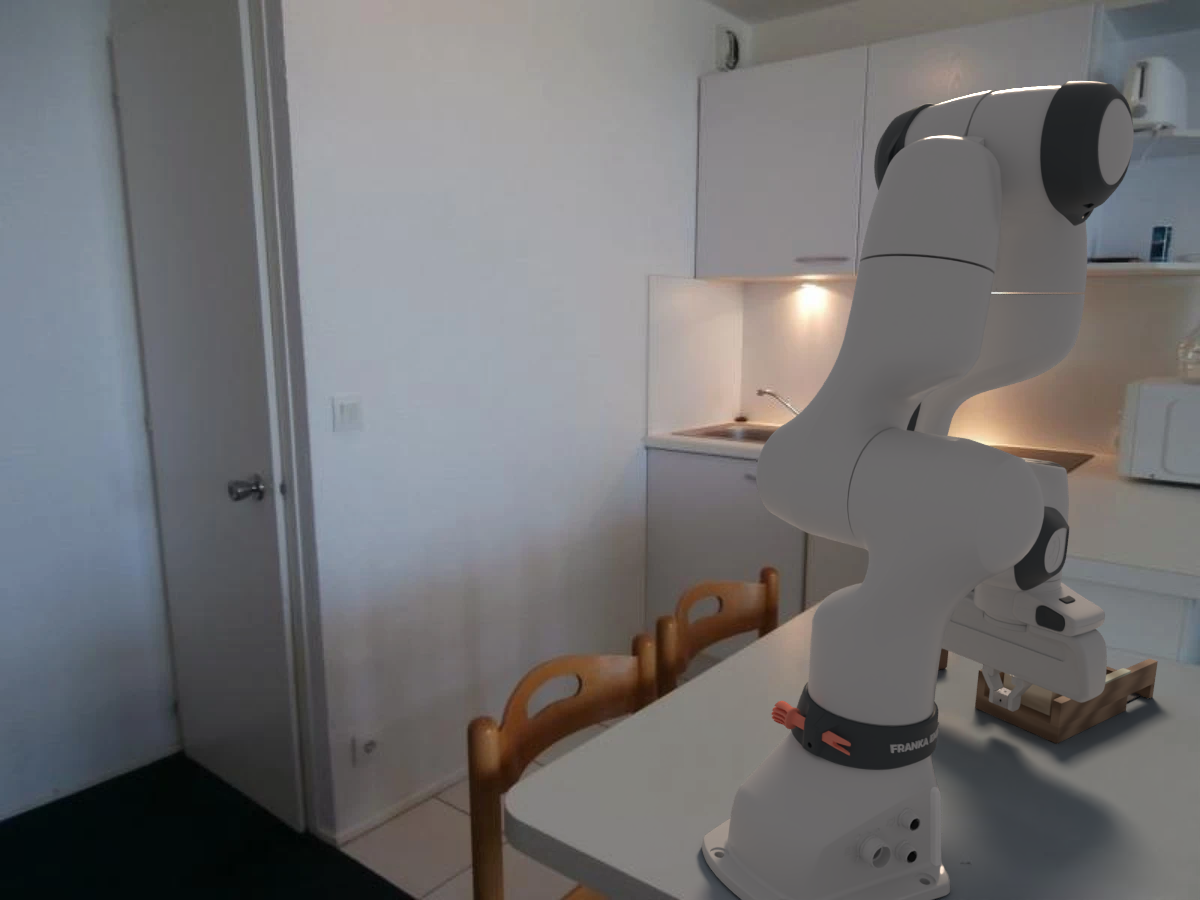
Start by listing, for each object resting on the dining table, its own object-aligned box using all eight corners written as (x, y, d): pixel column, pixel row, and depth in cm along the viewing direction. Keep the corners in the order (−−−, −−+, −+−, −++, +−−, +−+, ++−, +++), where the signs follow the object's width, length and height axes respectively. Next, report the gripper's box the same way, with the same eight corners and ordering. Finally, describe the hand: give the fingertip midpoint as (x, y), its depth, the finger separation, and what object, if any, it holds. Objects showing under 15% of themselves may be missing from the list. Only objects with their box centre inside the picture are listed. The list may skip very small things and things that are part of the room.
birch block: (1049, 715, 101) (1053, 684, 100) (1002, 695, 106) (1005, 665, 105) (1076, 703, 104) (1080, 672, 103) (1029, 685, 109) (1032, 655, 108)
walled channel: (1056, 743, 98) (1061, 701, 97) (974, 707, 107) (978, 668, 106) (1152, 697, 111) (1158, 659, 110) (1072, 668, 119) (1076, 632, 118)
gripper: (921, 573, 105) (912, 678, 107) (1090, 627, 88) (1075, 750, 91) (952, 566, 108) (943, 668, 111) (1121, 616, 92) (1105, 735, 94)
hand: (1003, 705), depth 101 cm, fingers closed
